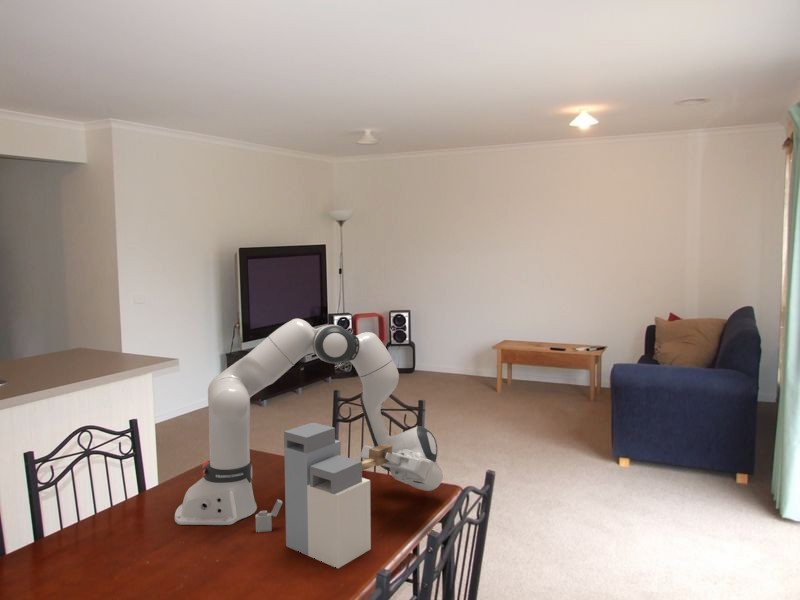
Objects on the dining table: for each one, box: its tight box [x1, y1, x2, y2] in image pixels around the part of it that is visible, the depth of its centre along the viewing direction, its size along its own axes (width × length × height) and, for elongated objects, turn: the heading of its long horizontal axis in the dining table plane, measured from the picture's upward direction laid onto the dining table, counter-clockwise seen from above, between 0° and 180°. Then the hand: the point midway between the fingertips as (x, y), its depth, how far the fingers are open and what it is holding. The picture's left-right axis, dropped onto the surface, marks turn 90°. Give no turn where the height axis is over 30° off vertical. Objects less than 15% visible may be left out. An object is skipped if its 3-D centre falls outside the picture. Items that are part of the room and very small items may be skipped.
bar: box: [361, 444, 392, 472], centre depth 166 cm, size 17×3×4 cm, turn 142°
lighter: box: [255, 498, 283, 534], centre depth 172 cm, size 7×2×8 cm, turn 105°
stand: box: [283, 422, 372, 569], centre depth 161 cm, size 12×18×30 cm, turn 52°
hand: (378, 453), depth 170 cm, fingers closed on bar, 3 cm apart
